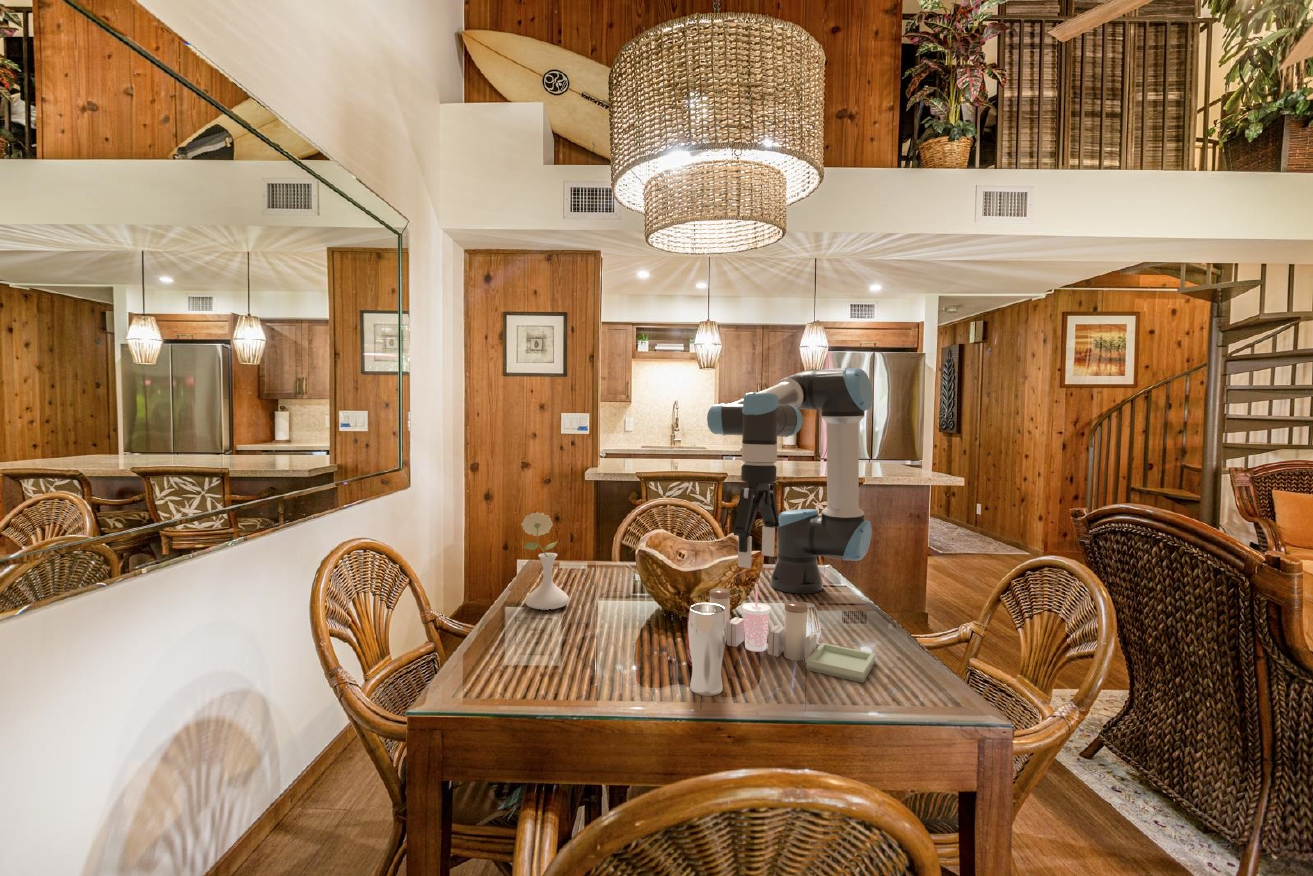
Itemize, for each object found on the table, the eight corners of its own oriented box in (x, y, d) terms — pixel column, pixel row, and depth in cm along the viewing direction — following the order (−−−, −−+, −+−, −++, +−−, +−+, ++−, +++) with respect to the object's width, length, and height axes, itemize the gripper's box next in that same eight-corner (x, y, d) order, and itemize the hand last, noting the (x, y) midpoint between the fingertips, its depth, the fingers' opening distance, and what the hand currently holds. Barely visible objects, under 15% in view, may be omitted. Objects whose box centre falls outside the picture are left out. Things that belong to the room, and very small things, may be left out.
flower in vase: (574, 601, 162) (575, 509, 161) (561, 615, 151) (562, 516, 150) (528, 598, 164) (529, 508, 163) (512, 612, 153) (513, 514, 152)
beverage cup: (753, 655, 127) (755, 589, 126) (735, 645, 132) (736, 582, 132) (775, 649, 130) (777, 585, 129) (757, 640, 135) (758, 579, 135)
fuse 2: (787, 650, 130) (788, 600, 129) (808, 655, 127) (809, 603, 127) (780, 657, 126) (781, 605, 125) (801, 662, 123) (803, 609, 123)
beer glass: (685, 680, 114) (686, 602, 113) (721, 680, 114) (722, 602, 114) (690, 697, 107) (691, 614, 106) (728, 697, 107) (729, 614, 107)
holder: (714, 627, 143) (714, 607, 143) (822, 650, 130) (823, 628, 129) (698, 638, 136) (698, 616, 136) (811, 664, 122) (811, 640, 122)
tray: (821, 652, 129) (822, 642, 129) (875, 663, 123) (875, 653, 123) (806, 669, 120) (806, 659, 119) (863, 683, 114) (863, 672, 114)
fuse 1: (714, 634, 139) (715, 587, 138) (732, 638, 136) (733, 590, 136) (705, 640, 135) (706, 592, 134) (724, 644, 132) (724, 595, 132)
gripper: (763, 460, 142) (761, 549, 143) (718, 465, 121) (716, 569, 122) (794, 462, 138) (792, 553, 139) (753, 467, 117) (750, 575, 118)
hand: (756, 561), depth 130 cm, fingers open, 13 cm apart
